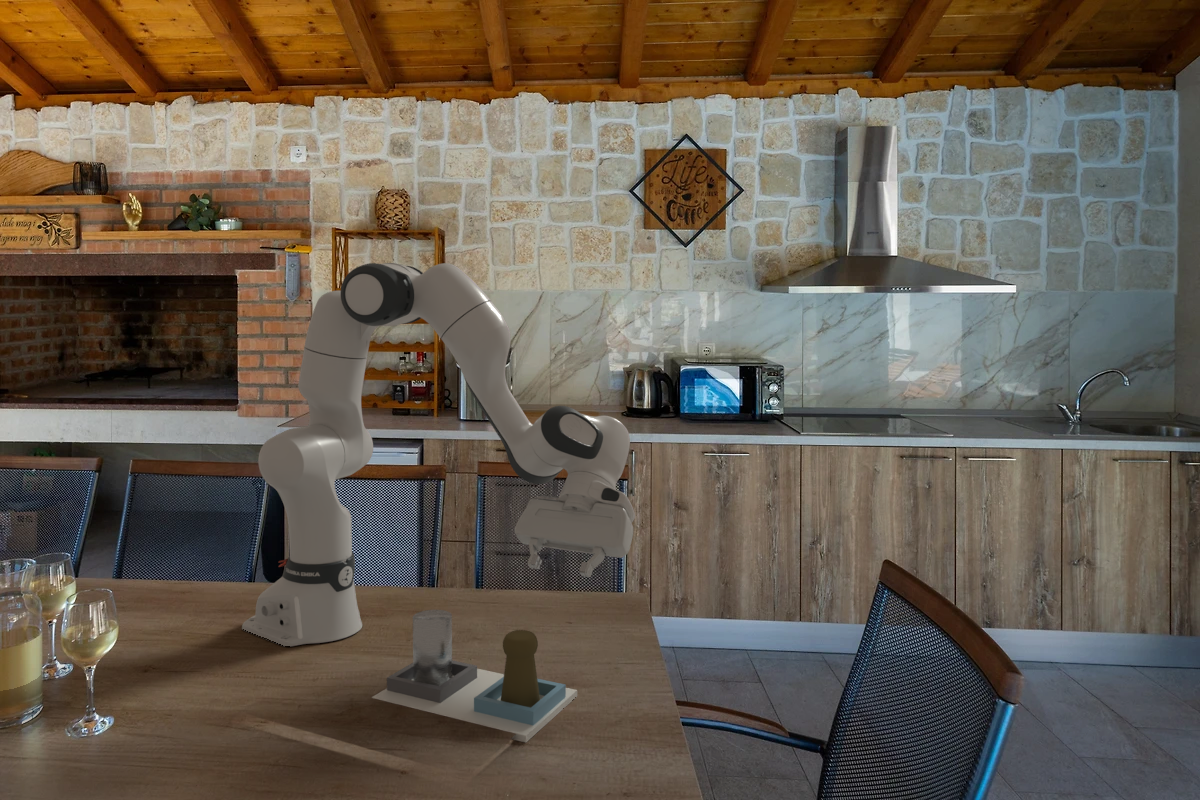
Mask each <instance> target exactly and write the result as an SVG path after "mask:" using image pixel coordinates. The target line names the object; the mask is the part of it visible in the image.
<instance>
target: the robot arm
mask: <svg viewBox="0 0 1200 800" xmlns="http://www.w3.org/2000/svg"><path fill="white" fill-rule="evenodd" d="M421 319H422V320H424V321H425V322H426V323H427V324H428V325H430V327H431V328H432V330H433V331H435V333H436V334H437V336H438V337H439V338H440V339H441V341H442V342H443V343H444V345H445V346H446V348H447V349H448V351H449V352H450V354H451V355H452V356H453V358H454V360H455V362H456V363H457V365H458V367H459V369H460V371H461V373H462V376H463V379H464V381H465V384H466V386H467V387H468V390H469V391H470V393H471V395H472V397H473V398H474V400H475V401H476V402H477V404H478V406H479V408H480V409H481V411H482V412H483V414H484V415H485V417H486V419H487V421H488V422H489V423H490V425H491V426H492V428H493V429H494V431H495V433H496V434H497V436H498V437H499V439H500V441H501V443H502V445H503V446H504V447H503V448H504V449H505V453H506V456H507V459H508V461H509V464H510V466H511V468H512V470H513V471H514V473H515V474H516V475H517V476H518V477H519V478H521V479H522V480H524V481H525V482H527V483H530V484H534V485H544V484H546V483H549V482H551V481H553V480H554V479H556V477H557V476H558V475H559V474H560V473H561V472H562V471H563V470H565V471H566V473H567V477H566V479H565V482H564V484H563V486H562V489H561V491H560V493H559V496H552V495H546V494H539V495H538V496H536V497H533V498H531V499H529V501H528V502H527V505H526V506H525V509H524V510H523V512H522V513H521V515H520V517H519V519H518V521H517V523H516V525H514V533H515V536H516V537H517V539H518V541H519V542H520V543H521V544H523V545H528V549H529V554H530V556H529V558H528V561H527V565H528V567H529V569H536V570H539V569H540V568H541V567H540V566H541V565H542V562H543V560H542V559H541V557H540V556H539V554H538V552H541V550H542V548H550V549H555V550H562V551H563V550H564V551H570V552H577V553H584V554H590V555H591V554H592V556H591V557H590V558H589V559H588V560H587V561H582V562H581V563H580V566H579V570H578V572H579V575H581V577H585V578H591V576H592V574H593V572H594V569H595V568H597V567H598V566H599V565H600V564H601V563H602V562H603V561H604V560H605V556H606V557H611V558H623V557H625V556H626V555H628V553H629V552H630V549H631V546H632V545H631V544H632V540H633V536H634V525H633V524H632V523H633V522H634V520H635V519H636V513H635V509H634V507H633V505H632V502H631V501H630V499H629V497H628V495H626V494H625V493H624V492H623V491H620V490H617V487H616V486H617V483H618V481H619V479H620V478H621V476H622V474H623V473H624V471H625V470H624V469H625V467H626V463H627V461H628V456H629V452H630V446H631V438H630V433H629V430H628V429H627V427H626V426H625V425H624V424H623V423H622V422H621V421H620V420H618V419H617V418H615V417H612V416H610V415H609V416H608V415H596V416H592V415H587V414H585V413H581V412H580V411H578V410H576V409H574V408H572V407H569V406H566V405H556V406H552V407H550V408H549V409H548V410H546V411H545V412H544V413H543V414H541V416H539V417H538V418H537V419H536V420H534V422H533V423H531V421H530V420H529V419H528V417H527V416H526V414H525V412H524V411H523V408H522V407H521V406H520V404H519V403H518V401H517V400H516V398H515V397H514V395H513V394H512V391H510V388H509V386H508V383H507V382H508V381H507V378H506V369H507V360H508V356H509V352H510V348H511V342H512V339H511V338H512V337H511V329H510V328H509V326H508V323H507V321H506V320H505V317H504V316H503V314H502V313H501V311H500V310H499V309H498V308H497V307H496V305H495V304H494V302H493V301H492V299H491V298H490V297H489V296H488V295H487V293H485V291H483V289H482V288H481V287H480V286H479V285H478V284H477V283H476V282H475V281H474V280H473V279H472V278H471V277H470V276H468V274H466V273H465V272H464V271H463V270H462V269H461V268H459V267H458V266H456V265H455V264H452V263H447V262H445V263H444V262H443V263H438V264H436V265H433V266H432V267H429V268H428V269H427V270H425V271H424V272H423V271H421V270H419V269H418V268H417V267H413V266H410V265H404V264H400V263H396V262H384V263H377V262H376V263H375V262H370V263H364V264H362V265H359V266H357V267H355V268H353V269H352V270H350V271H349V273H347V274H346V276H345V277H344V278H343V281H342V283H341V287H340V290H333V291H329V292H326V293H324V294H323V295H321V296H320V297H319V298H318V300H317V301H316V304H315V306H314V310H313V311H312V314H311V318H310V322H309V324H308V327H307V331H306V337H305V342H304V346H303V354H302V361H301V366H300V372H299V377H298V385H297V387H298V391H299V393H300V394H301V396H302V397H303V398H304V399H305V400H306V402H307V405H308V411H309V420H308V421H309V422H308V425H305V426H298V427H294V428H289V429H286V430H284V431H282V432H280V433H278V434H276V435H274V436H272V437H271V438H269V439H267V440H266V441H265V442H264V443H263V445H262V446H261V447H260V451H259V453H258V460H257V461H258V468H259V473H260V475H261V476H262V479H264V481H265V482H266V483H267V484H268V485H270V487H272V488H273V489H275V490H276V491H277V493H278V495H279V497H280V499H281V501H282V503H283V507H284V510H285V512H286V517H287V523H288V541H289V546H288V547H289V556H288V557H287V558H286V559H282V560H279V561H278V563H280V564H279V565H278V568H282V567H284V569H283V573H282V576H281V577H280V578H279V579H277V580H276V581H275V582H273V584H271V585H270V586H268V587H267V588H266V589H264V591H262V592H261V593H260V595H259V596H258V598H257V600H256V605H255V615H252V616H251V617H249V618H248V619H246V620H245V621H244V622H243V623H242V625H241V630H243V629H244V630H243V631H245V630H246V631H245V632H247V631H248V632H247V633H249V632H251V633H250V634H252V633H253V635H254V634H256V635H255V636H257V635H258V636H257V637H259V636H261V637H260V638H262V637H264V638H267V639H269V640H271V641H270V642H272V641H274V642H276V643H275V644H277V643H278V644H277V645H279V644H281V645H280V646H282V645H283V646H282V647H285V646H290V647H295V646H300V645H306V644H320V643H328V642H333V641H338V640H342V639H345V638H348V637H351V636H353V635H354V634H356V633H357V632H359V631H360V630H361V629H362V627H363V622H362V620H361V616H360V615H361V614H360V610H359V607H358V601H357V600H358V599H357V595H356V587H355V581H354V580H355V578H354V577H355V573H356V568H355V567H356V566H355V564H356V560H355V553H354V552H353V540H352V539H353V538H352V537H353V535H352V533H353V532H352V530H353V529H352V516H351V512H350V511H349V509H348V508H347V507H345V506H344V505H342V504H341V502H340V500H339V497H338V495H337V491H336V484H335V482H336V480H339V479H342V478H346V477H350V476H351V475H353V474H355V473H356V472H358V471H360V470H361V469H362V468H363V467H365V466H366V465H367V464H368V463H369V462H370V460H371V459H372V456H373V452H374V443H373V442H374V441H373V438H372V436H371V433H370V432H369V431H368V429H367V428H366V427H365V424H364V419H363V417H364V416H363V410H362V393H363V386H364V379H365V374H366V373H365V372H366V367H367V360H368V357H369V356H368V355H369V347H370V343H371V339H372V336H373V334H374V332H375V331H376V330H377V328H379V327H395V326H396V327H397V326H399V325H406V324H407V325H408V324H412V323H415V322H417V321H419V320H421ZM264 638H263V639H264ZM267 639H266V640H267ZM269 640H268V641H269ZM274 642H273V643H274Z"/></svg>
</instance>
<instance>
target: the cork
mask: <svg viewBox="0 0 1200 800" xmlns="http://www.w3.org/2000/svg"><path fill="white" fill-rule="evenodd" d="M538 647H539V641H538V638H537V636H536V634H535V633H533V632H532V631H530V630H525V629H519V630H513V631H510V632H508V633H507V634H505V636H504V638H503V641H502V649H503V652H504V654H505V655H506V658H505V663H504V664H505V665H504V672H503V674H504V679H503V686H502V694H501V701H504V702H508V703H513V704H517V705H521V706H526V707H530V708H531V707H532V706H533V705H535V704H536V703H537V702H538V701H539V700H540V696H539V688H538V680H537V679H538V675H537V668H536V667H537V666H536V660H535V659H536V658H535V654H536V653H537V650H538Z"/></svg>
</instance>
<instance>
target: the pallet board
mask: <svg viewBox="0 0 1200 800" xmlns="http://www.w3.org/2000/svg"><path fill="white" fill-rule="evenodd" d="M503 679H504V673H499V672H495V671H491V670H490V671H489V670H486V669H480V668H478V665H476V664H471V663H466V662H461V661H457V660H453V659H452V678H451V679H449V680H448V681H446V682H445V683H443V684H442V685H440V686H435V685H431V684H426V683H422V682H418V681H413V662H412V663H410V664H408V665H406V666H405V667H403V668H401V669H400V670H398V671H396V672H395V673H393V674H391V675H389V676H387V677H386V688H385V689H383V690H381V691H380V692H378V693H377V694H375V695H373V696H371V699H376V700H380V701H383V702H387V703H390V704H391V703H392V704H395V705H399V706H403V707H408V708H412V709H415V710H420V711H422V712H426V713H427V712H428V713H432V714H436V715H440V716H445V717H448V718H451V719H456V720H460V721H464V722H468V723H471V724H476V725H479V726H480V725H481V726H484V727H488V728H492V729H497V730H500V731H503V732H508V733H512V734H514V735H513V736H512V737H511V738H510V740H514V741H517V742H522V743H528V741H529V740H531V739H532V738H534V736H535V735H536V734H537V733H538V732H540V730H542V729H543V728H544V727H546V725H548V724H549V723H550V722H551V721H552V720H553V719H554V718H555V717H557V715H558V714H559V713H561V712H562V711H563V710H564V709H565V708H566V707H567V706H568V705H569V704H570V703H571V702H573V701H574V700H575V699H576V698H577V697H578V690H577V689H573V688H569V687H566V685H567V684H564V683H560V682H555V681H550V680H545V679H541V678H537V680H538V688H539V696H540V700H539V701H538V702H537V703H536V704H535V705H533V706H532V707H531V708H530V707H526V706H521V705H517V704H513V703H508V702H504V701H501V694H502V686H503ZM575 697H576V698H575ZM573 699H574V700H573ZM572 700H573V701H572ZM563 708H564V709H563Z"/></svg>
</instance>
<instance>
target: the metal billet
mask: <svg viewBox="0 0 1200 800" xmlns="http://www.w3.org/2000/svg"><path fill="white" fill-rule="evenodd" d="M452 618H453V616H452V613H451V612H450V611H447V610H443V609H427V610H422V611H419V612H416V613H414V614H413V616H412V661H413V662H412V663H413V681H418V682H422V683H426V684H431V685H435V686H440V685H442V684H443V683H445V682H446V681H448V680H449V679H451V678H452V660H453V619H452Z"/></svg>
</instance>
